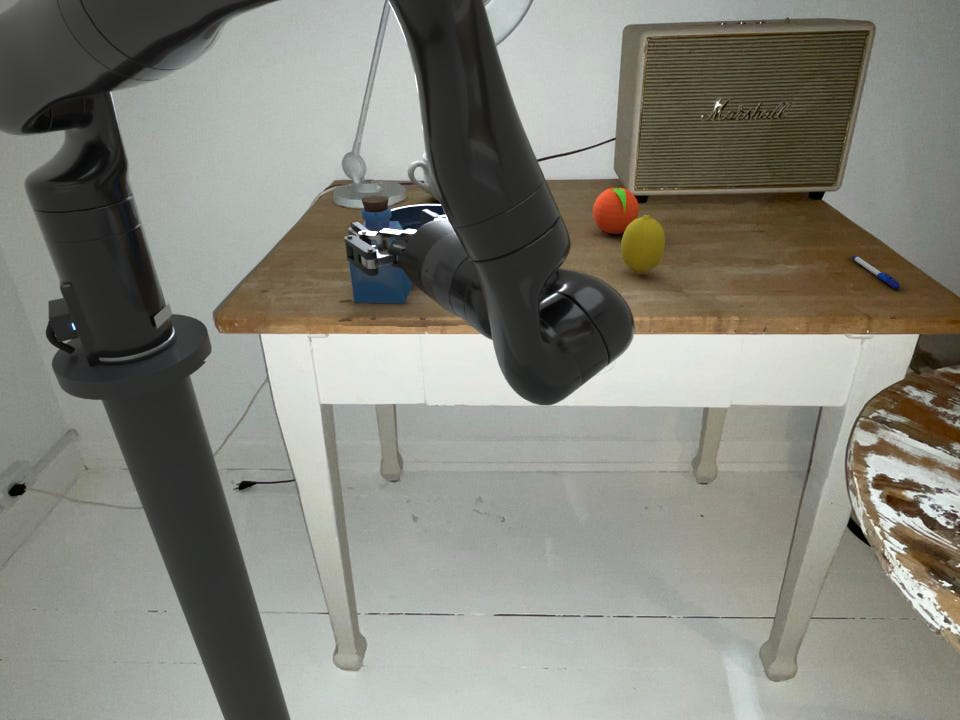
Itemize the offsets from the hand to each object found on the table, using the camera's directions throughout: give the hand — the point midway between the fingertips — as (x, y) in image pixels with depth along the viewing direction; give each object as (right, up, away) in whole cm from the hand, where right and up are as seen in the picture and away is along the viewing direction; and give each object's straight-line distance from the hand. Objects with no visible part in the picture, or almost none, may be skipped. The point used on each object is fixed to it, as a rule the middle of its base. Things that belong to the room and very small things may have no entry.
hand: (389, 224), depth 72 cm
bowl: (+3, 0, +20) cm, 20 cm away
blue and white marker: (+62, -4, +10) cm, 63 cm away
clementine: (+31, +4, +26) cm, 41 cm away
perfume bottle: (-2, -7, +8) cm, 11 cm away
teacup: (+4, +14, +43) cm, 45 cm away
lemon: (+32, -4, +12) cm, 34 cm away
